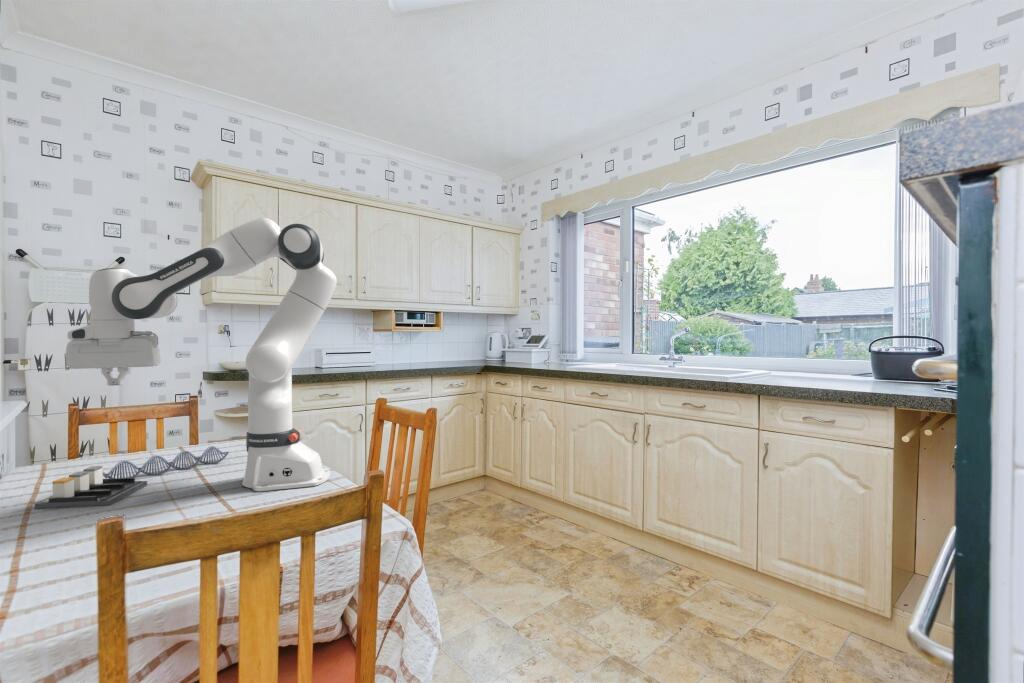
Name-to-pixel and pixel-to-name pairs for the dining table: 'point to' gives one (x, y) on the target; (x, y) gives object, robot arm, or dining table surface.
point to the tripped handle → (63, 487)
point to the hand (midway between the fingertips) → (115, 385)
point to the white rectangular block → (81, 480)
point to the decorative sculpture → (197, 459)
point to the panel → (96, 494)
